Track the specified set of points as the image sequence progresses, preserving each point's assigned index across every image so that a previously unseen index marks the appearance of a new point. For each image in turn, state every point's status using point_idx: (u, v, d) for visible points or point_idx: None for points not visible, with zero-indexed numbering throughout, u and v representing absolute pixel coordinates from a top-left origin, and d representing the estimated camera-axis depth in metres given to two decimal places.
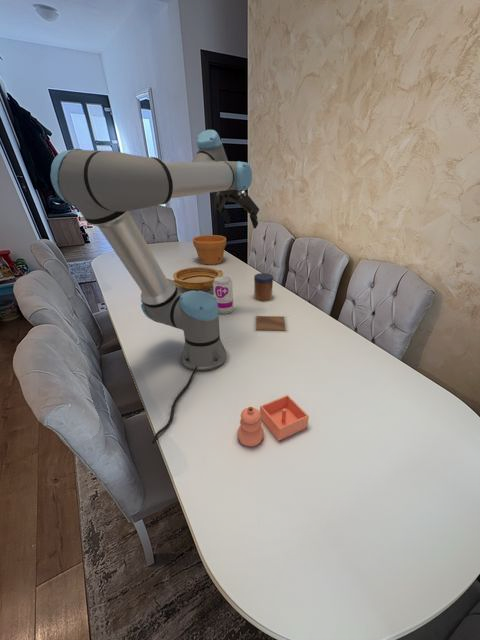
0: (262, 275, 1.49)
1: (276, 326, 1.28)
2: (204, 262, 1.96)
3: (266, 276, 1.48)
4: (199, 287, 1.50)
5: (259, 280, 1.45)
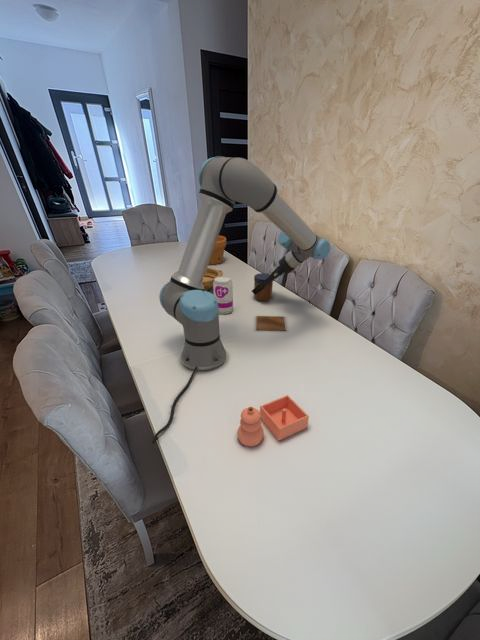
0: (262, 275, 1.49)
1: (276, 326, 1.28)
2: None
3: (266, 276, 1.48)
4: None
5: (259, 280, 1.45)
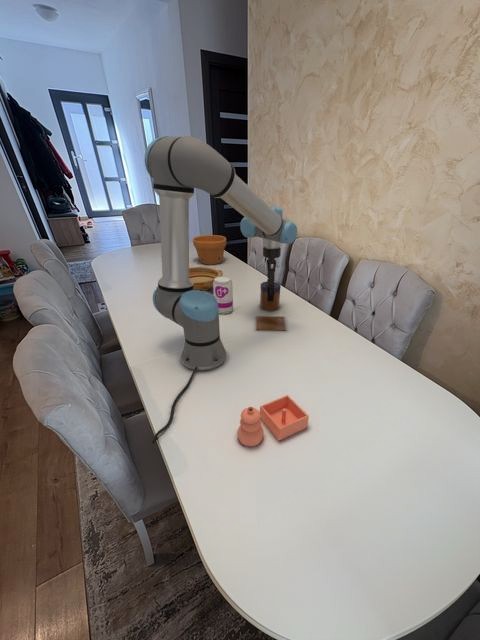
0: None
1: (276, 326, 1.28)
2: (204, 262, 1.96)
3: (274, 284, 1.39)
4: (199, 287, 1.50)
5: (266, 289, 1.36)
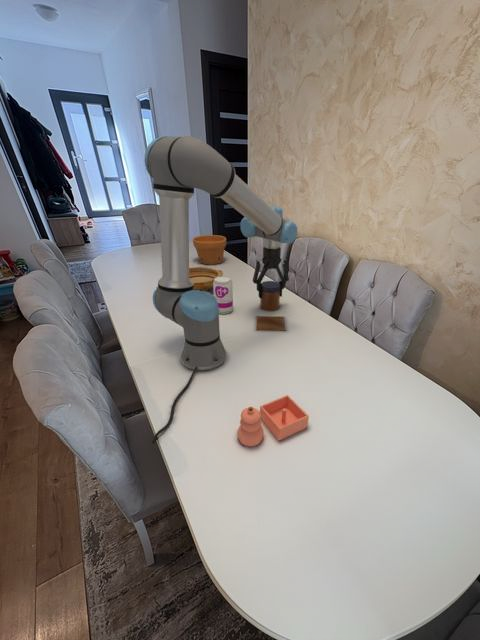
0: (268, 285, 1.38)
1: (276, 326, 1.28)
2: (204, 262, 1.96)
3: (269, 283, 1.40)
4: (199, 287, 1.50)
5: (280, 286, 1.39)
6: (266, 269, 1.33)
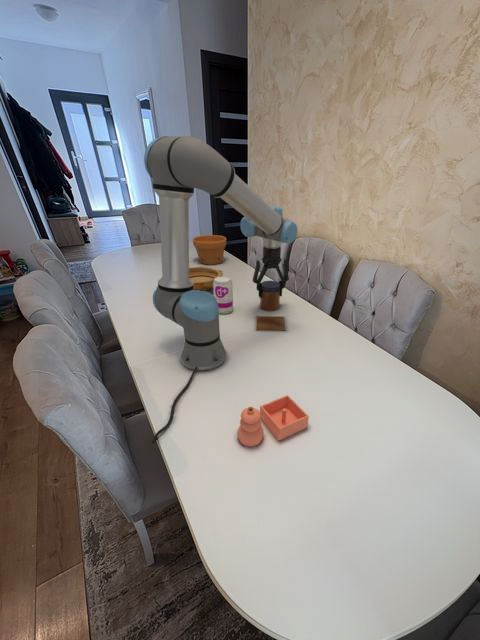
0: (273, 284, 1.38)
1: (276, 326, 1.28)
2: (204, 262, 1.96)
3: (267, 284, 1.38)
4: (199, 287, 1.50)
5: None
6: (266, 269, 1.33)
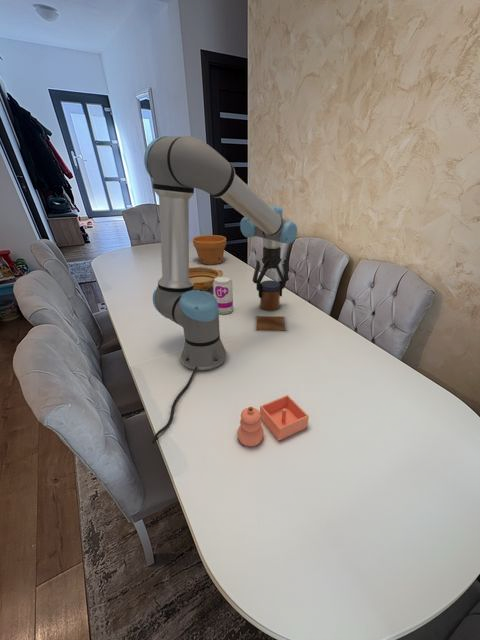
0: (271, 282, 1.40)
1: (276, 326, 1.28)
2: (204, 262, 1.96)
3: (273, 284, 1.38)
4: (199, 287, 1.50)
5: None
6: (266, 269, 1.33)
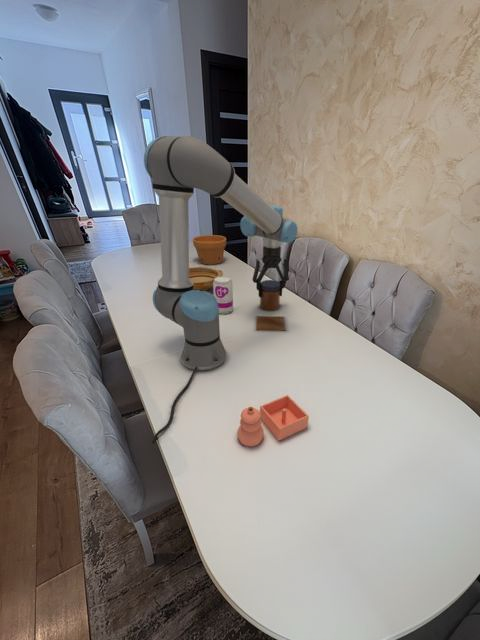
0: (267, 283, 1.39)
1: (276, 326, 1.28)
2: (204, 262, 1.96)
3: (272, 282, 1.40)
4: (199, 287, 1.50)
5: (276, 288, 1.36)
6: (266, 268, 1.33)
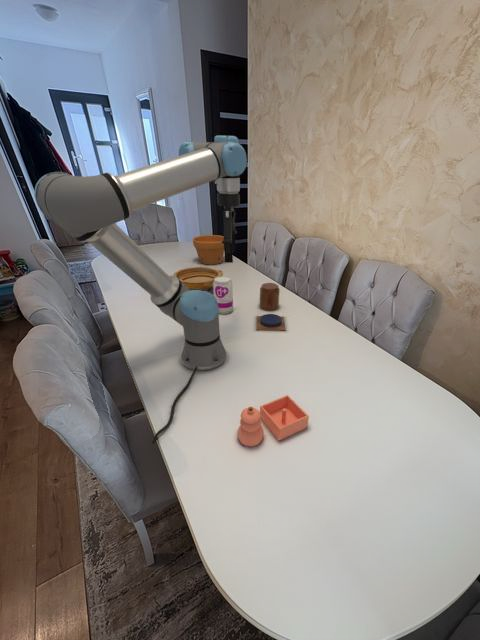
0: (269, 320, 1.28)
1: None
2: (204, 262, 1.96)
3: (268, 317, 1.30)
4: (199, 287, 1.50)
5: None
6: (233, 222, 1.04)
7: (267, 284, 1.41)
